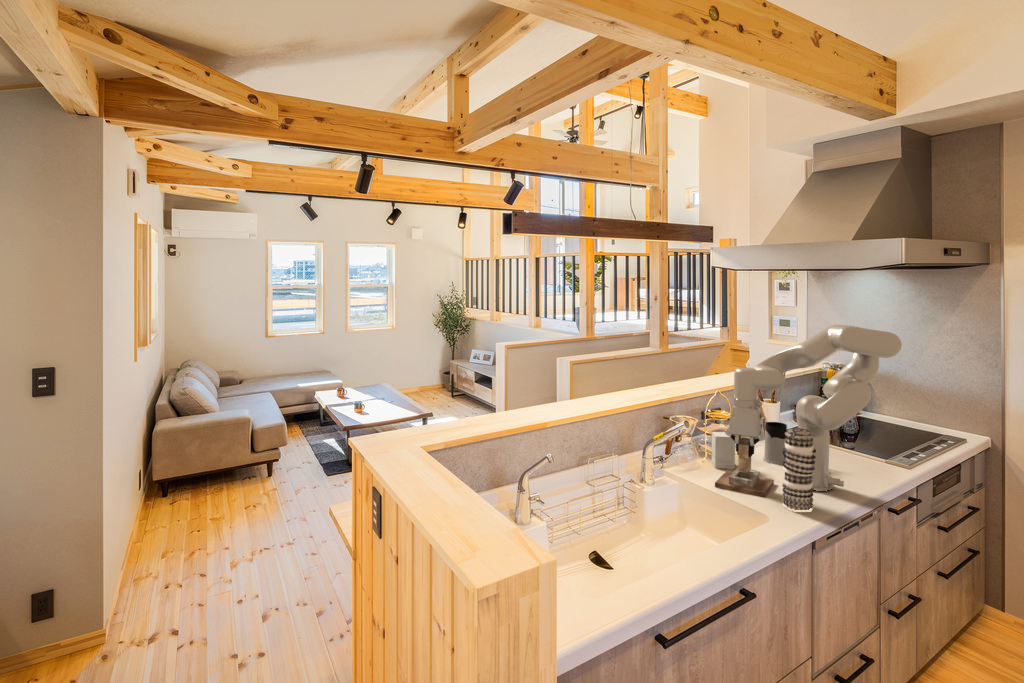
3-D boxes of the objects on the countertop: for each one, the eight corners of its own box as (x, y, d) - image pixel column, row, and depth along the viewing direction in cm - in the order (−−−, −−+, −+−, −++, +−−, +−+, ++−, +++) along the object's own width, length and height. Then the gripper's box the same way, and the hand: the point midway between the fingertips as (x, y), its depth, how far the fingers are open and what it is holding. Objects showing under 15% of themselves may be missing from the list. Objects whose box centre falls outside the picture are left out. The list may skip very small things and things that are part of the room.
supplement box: (735, 469, 194) (735, 437, 193) (714, 468, 196) (715, 436, 195) (730, 462, 201) (731, 431, 200) (711, 462, 203) (711, 431, 202)
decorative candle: (792, 499, 165) (793, 424, 163) (820, 509, 157) (823, 430, 155) (774, 505, 161) (776, 428, 159) (802, 516, 153) (805, 435, 150)
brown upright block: (751, 469, 178) (751, 438, 177) (747, 473, 174) (748, 442, 173) (741, 467, 180) (742, 437, 179) (738, 471, 176) (738, 440, 175)
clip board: (773, 484, 178) (773, 473, 178) (764, 497, 167) (764, 485, 167) (726, 475, 188) (726, 464, 188) (714, 486, 177) (715, 475, 177)
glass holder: (762, 456, 208) (762, 420, 207) (801, 459, 203) (802, 423, 202) (764, 463, 200) (765, 426, 199) (805, 466, 195) (806, 428, 194)
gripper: (774, 404, 173) (772, 456, 175) (724, 399, 183) (723, 448, 185) (769, 408, 167) (768, 462, 169) (718, 402, 177) (717, 453, 179)
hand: (744, 454), depth 177 cm, fingers closed on brown upright block, 3 cm apart
